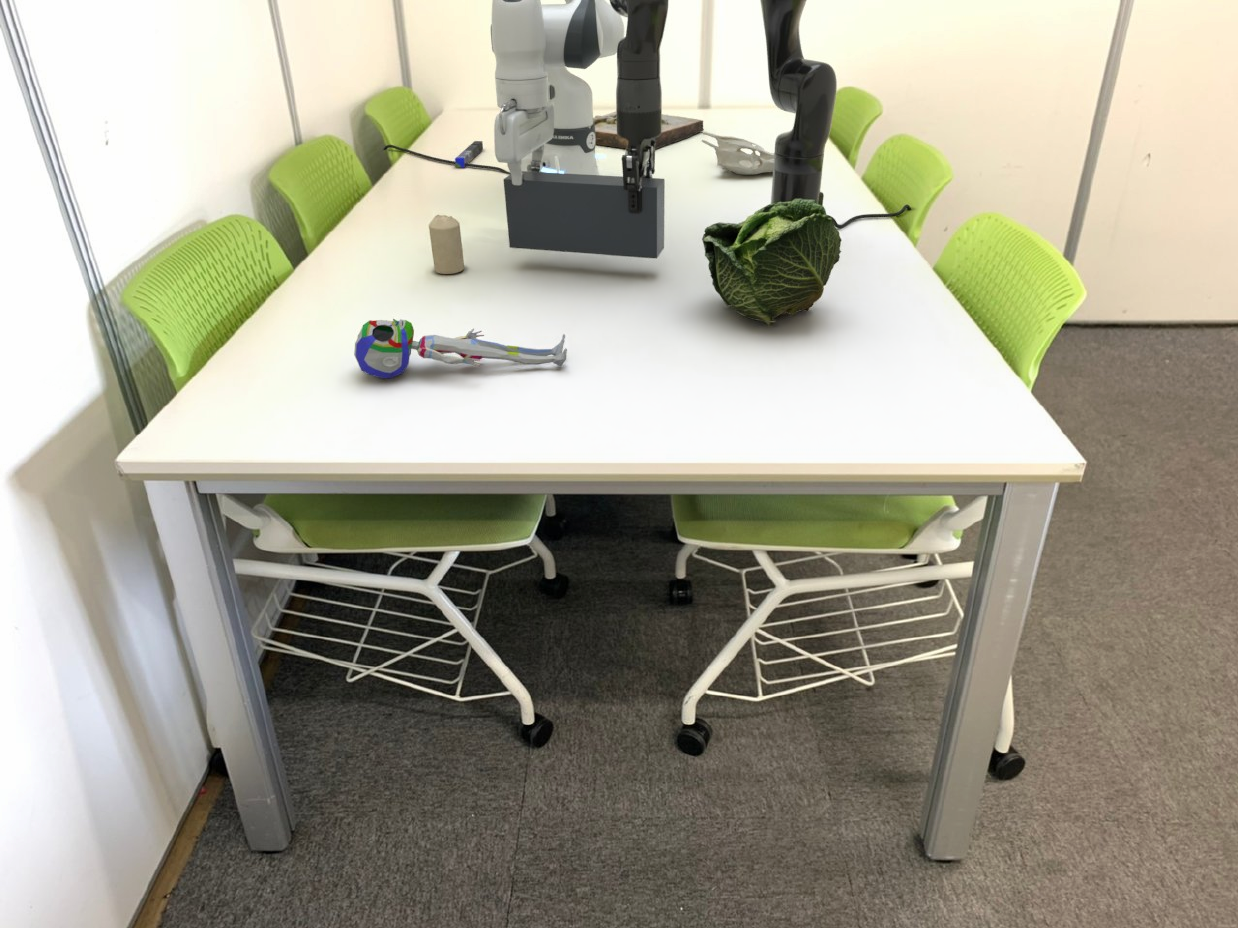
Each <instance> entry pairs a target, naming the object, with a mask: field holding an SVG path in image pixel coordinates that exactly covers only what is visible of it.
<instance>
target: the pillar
mask: <svg viewBox="0 0 1238 928" xmlns="http://www.w3.org/2000/svg"><path fill="white" fill-rule="evenodd" d="M483 150H484V145H483V141H482V140H474V141H473V142H471V144H470V145H468V146H467V147H466V148H465V149H463V151H462V152H461V153H460V154H458V155H457V156H456V157H455V158H454V161H455V164H454V165H455V168H457V169H458V168H465V167H466V166H465V163H468V164H470V163H471V162H472V160H474V159H475V158H476V157H477V156H478V155H479V154H480V153H481V152H482V151H483Z"/></svg>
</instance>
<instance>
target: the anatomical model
mask: <svg viewBox="0 0 1238 928" xmlns="http://www.w3.org/2000/svg"><path fill="white" fill-rule="evenodd" d="M702 135H704V136H708V137H711V138H714V139H715V140H716V142H717V145H715V144H713V143H712V142H709V141H708V140H705V139H701V142H702V143H703V144H706V145H708V146H709V147H711V148H713V149H714V152H715V155H716V160H717V164H716V165H717V166H721V167H722V170H724V171H727V172H729V171H730V172H733V173H735V174H736V175H744V176H747V175H750V176H751V175H752V176H753V175H759V174H763V173H773V165H774V152H770V151H766V149H764V148H763V147H762V146H761V145H759V144H757V143H755V142H752V141H749V140H748V139H744V138H739V137H736V136H730V135H729V136H727V135H726V136H725V135H719V134H715V133H711V132H707V131H702ZM743 149H747V150H751V151H752V152H751V153H748V152H747V153H746V152H745V151H743ZM756 152H758V153H759V155H758V154H756Z"/></svg>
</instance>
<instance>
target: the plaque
mask: <svg viewBox="0 0 1238 928" xmlns="http://www.w3.org/2000/svg"><path fill="white" fill-rule="evenodd" d="M593 123H594V124H595V133H596V144H595V145H597V146H598V145H599V146H607V147H612V148H620V149H625V150H626V149H628V140H627V139H625V138H621V137H619V136H618V135H617V115H616V111H613V112H610V113H608V114H602V115H594V117H593ZM704 130H705V129H704V120H702V119H698V118H693V117H685V116H679V115H669V114H663V113H662V132H661V135H660V136H658V137H656V138H653V139H655V141H656V144H655V150H656V149H659V148H662V147H663V146H664V147H665V146H667V145H670V144H672V143H676V142H680V141H682V140H684V139H687V138H691V137H692V136H694V135H696V134H698V133H700V132H705V131H704Z"/></svg>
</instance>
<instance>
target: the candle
mask: <svg viewBox="0 0 1238 928" xmlns="http://www.w3.org/2000/svg"><path fill="white" fill-rule="evenodd" d="M428 230H429V231H428V232H429V237H430V247H431V252H432V262H433V269H434V271H435V272H436V273H438V274H442V275H451V274H457V273H460V272H462V271H463V270H464V269H465V260H464V253H463V252H464V251H463V243H462V233H461V224H460V222H459V221H458V220H457V219H456V218H454V217H453V216H451V215H450V216H449V215H444V214H436V215H435V216H434V217H433V218H432V220H431V221H430V222H429V224H428Z"/></svg>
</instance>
